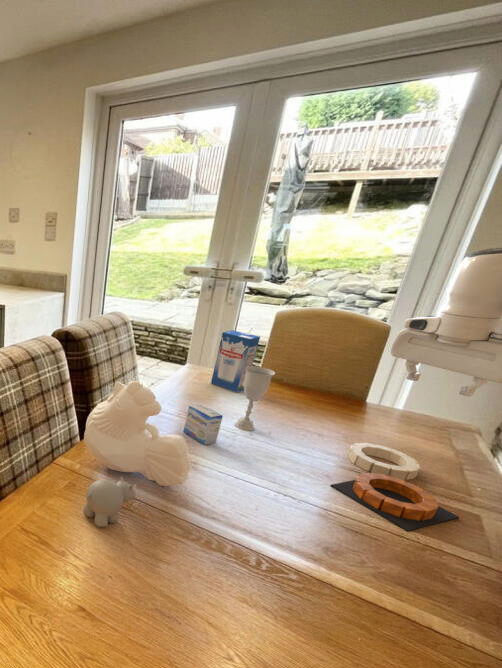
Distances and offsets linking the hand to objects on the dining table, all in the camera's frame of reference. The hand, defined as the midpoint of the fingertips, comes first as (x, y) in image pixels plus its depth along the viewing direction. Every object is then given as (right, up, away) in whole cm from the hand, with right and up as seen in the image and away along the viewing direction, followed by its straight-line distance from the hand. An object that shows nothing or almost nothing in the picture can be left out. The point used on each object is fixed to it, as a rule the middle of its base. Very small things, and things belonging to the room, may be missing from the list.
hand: (437, 387), depth 89 cm
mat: (-13, -25, -2) cm, 28 cm away
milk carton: (-13, -1, +58) cm, 60 cm away
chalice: (-25, -12, +29) cm, 41 cm away
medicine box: (-42, -15, +23) cm, 50 cm away
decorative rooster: (-68, -21, +7) cm, 71 cm away
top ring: (-13, -25, -3) cm, 28 cm away
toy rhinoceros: (-76, -27, -7) cm, 81 cm away
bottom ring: (-2, -20, +11) cm, 23 cm away
